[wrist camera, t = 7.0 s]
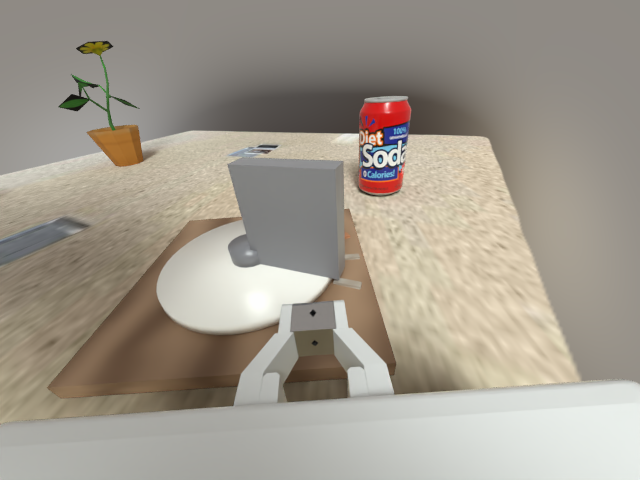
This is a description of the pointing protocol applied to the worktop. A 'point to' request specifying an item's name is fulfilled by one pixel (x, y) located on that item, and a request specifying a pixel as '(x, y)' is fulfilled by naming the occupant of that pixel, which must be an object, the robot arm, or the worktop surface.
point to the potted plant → (112, 140)
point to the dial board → (207, 336)
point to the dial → (261, 249)
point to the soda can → (383, 144)
